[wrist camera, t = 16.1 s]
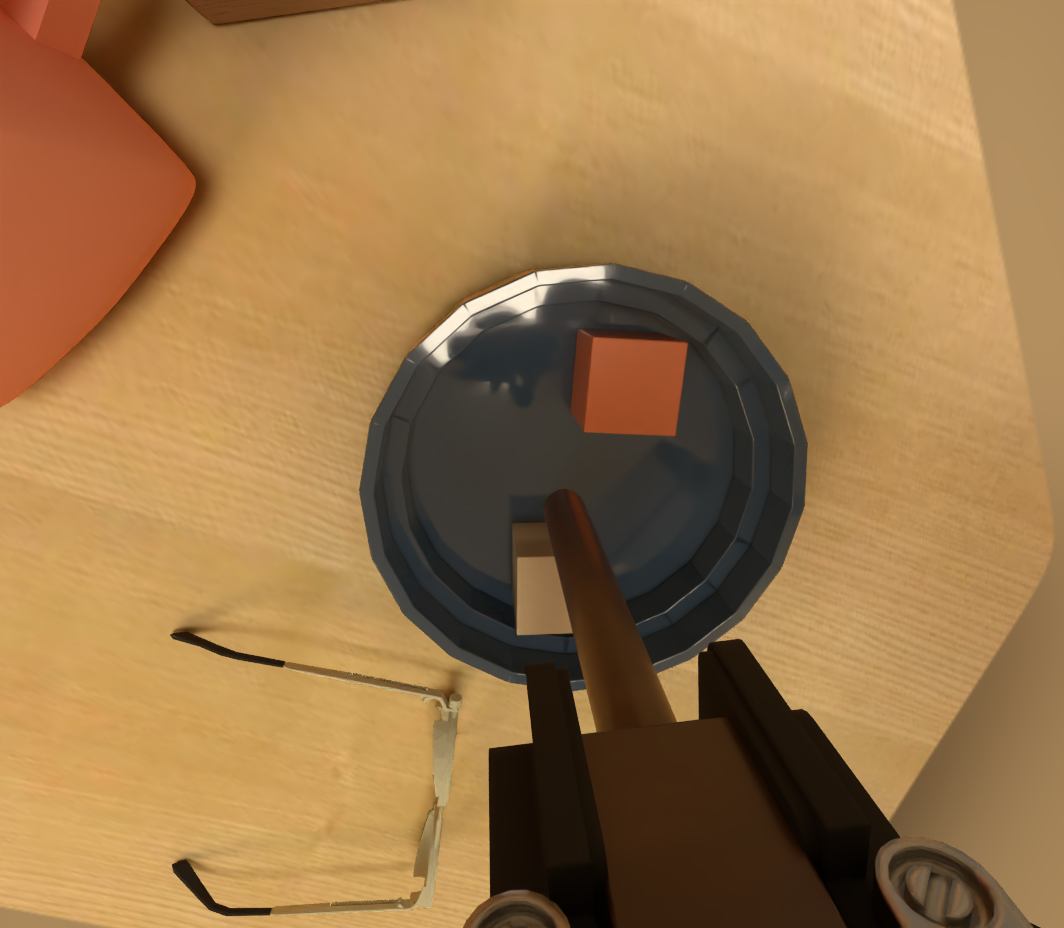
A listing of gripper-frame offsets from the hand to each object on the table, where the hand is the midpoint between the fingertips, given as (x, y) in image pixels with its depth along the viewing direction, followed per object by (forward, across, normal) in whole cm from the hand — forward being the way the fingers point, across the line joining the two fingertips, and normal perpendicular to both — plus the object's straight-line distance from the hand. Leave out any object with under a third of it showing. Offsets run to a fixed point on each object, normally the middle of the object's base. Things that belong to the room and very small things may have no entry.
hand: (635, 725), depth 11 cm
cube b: (+20, 0, +6) cm, 21 cm away
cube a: (+20, -4, -3) cm, 21 cm away
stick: (+11, 0, 0) cm, 11 cm away
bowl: (+21, -2, +2) cm, 21 cm away
